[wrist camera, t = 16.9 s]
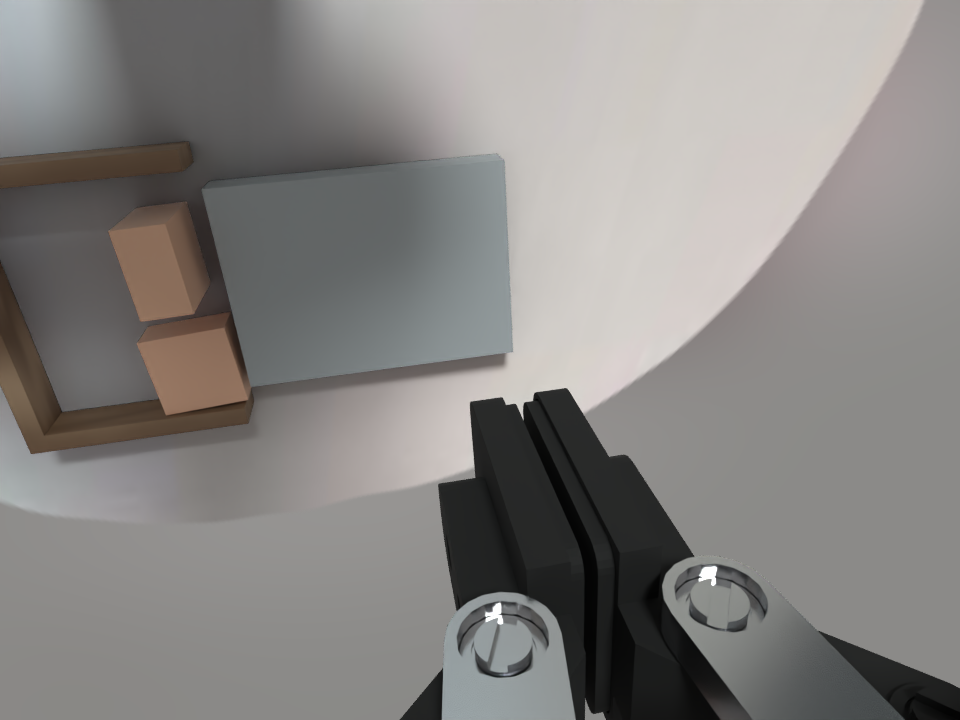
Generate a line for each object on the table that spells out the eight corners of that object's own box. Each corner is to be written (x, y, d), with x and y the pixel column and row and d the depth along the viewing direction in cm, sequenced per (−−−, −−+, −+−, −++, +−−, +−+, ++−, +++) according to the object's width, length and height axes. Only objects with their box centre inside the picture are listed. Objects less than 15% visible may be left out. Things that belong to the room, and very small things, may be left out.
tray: (-63, 163, 32) (-95, 173, 29) (188, 141, 33) (177, 149, 31) (49, 429, 38) (31, 454, 36) (253, 401, 40) (248, 423, 38)
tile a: (186, 201, 34) (136, 207, 34) (165, 223, 30) (108, 231, 30) (210, 282, 36) (163, 289, 36) (193, 314, 32) (140, 322, 32)
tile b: (149, 324, 37) (136, 343, 35) (231, 310, 37) (223, 327, 35) (176, 393, 39) (166, 415, 37) (253, 379, 40) (248, 399, 37)
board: (209, 181, 34) (201, 189, 32) (496, 153, 36) (504, 160, 34) (255, 371, 39) (250, 387, 37) (505, 338, 41) (512, 352, 39)
